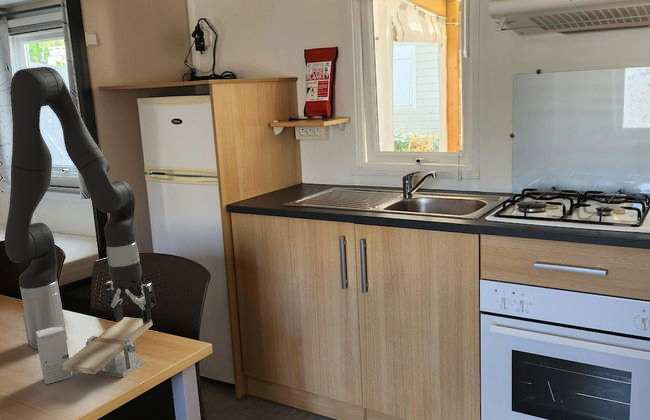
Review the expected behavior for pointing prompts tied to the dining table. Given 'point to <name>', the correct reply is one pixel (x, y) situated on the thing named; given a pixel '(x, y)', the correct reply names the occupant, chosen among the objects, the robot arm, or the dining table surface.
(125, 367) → the pivot stand
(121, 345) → the balance beam
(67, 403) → the dining table surface
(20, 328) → the dining table surface
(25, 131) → the robot arm
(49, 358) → the skincare box
